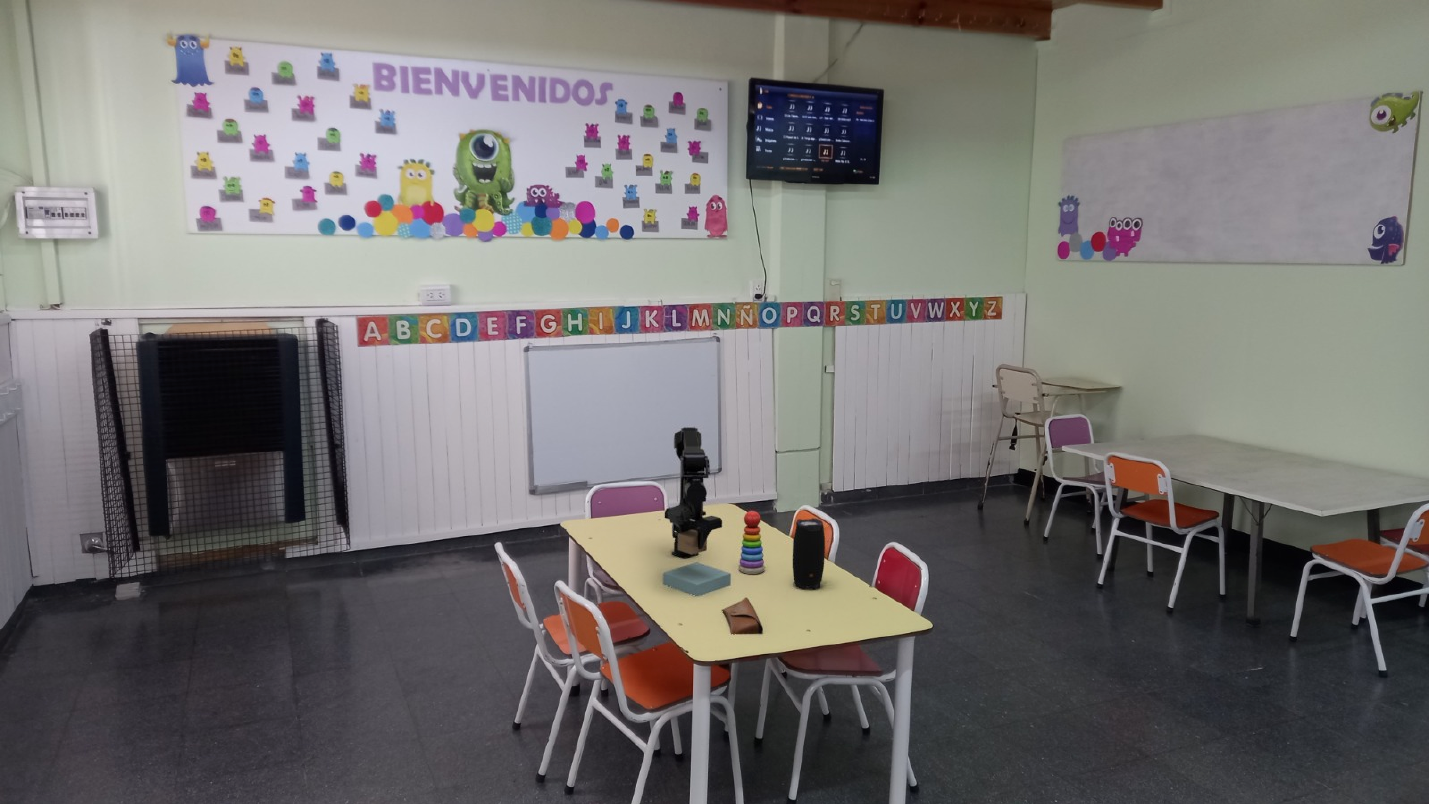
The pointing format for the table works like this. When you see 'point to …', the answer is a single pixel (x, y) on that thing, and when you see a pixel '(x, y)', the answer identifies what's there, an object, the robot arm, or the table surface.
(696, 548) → the walnut block
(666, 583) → the teal base box
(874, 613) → the table surface
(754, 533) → the stacking toy
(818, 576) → the portable speaker
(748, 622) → the sunglasses case
